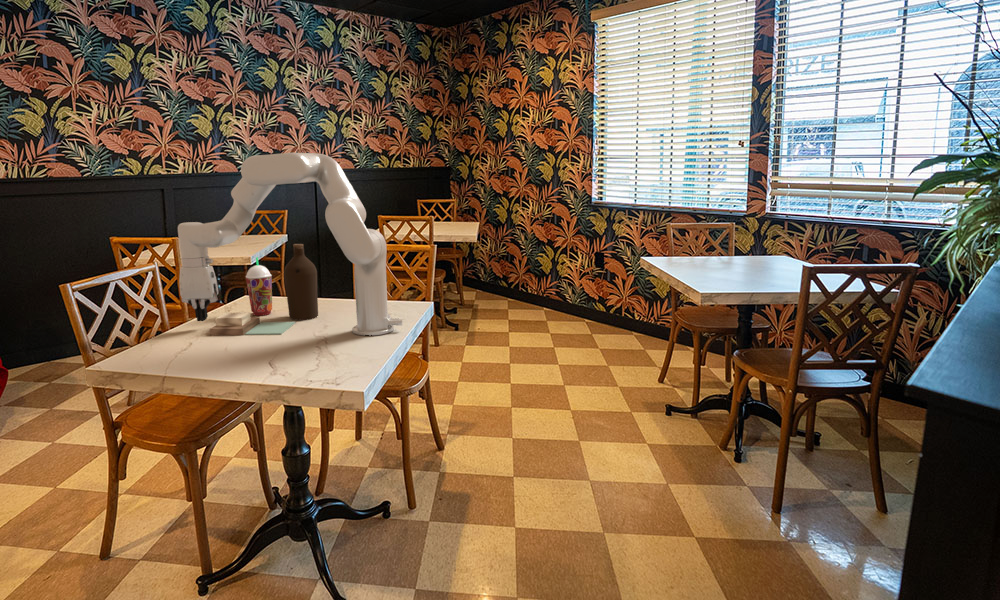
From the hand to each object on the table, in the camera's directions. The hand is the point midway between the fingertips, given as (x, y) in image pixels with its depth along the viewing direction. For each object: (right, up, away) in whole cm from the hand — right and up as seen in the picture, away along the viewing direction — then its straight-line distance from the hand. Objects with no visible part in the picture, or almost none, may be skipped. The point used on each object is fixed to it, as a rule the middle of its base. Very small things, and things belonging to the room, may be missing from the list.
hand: (202, 320), depth 188 cm
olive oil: (+27, 0, +16) cm, 31 cm away
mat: (+21, -3, +1) cm, 22 cm away
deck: (+10, -3, +1) cm, 11 cm away
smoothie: (+11, +1, +20) cm, 23 cm away
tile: (+10, 0, 0) cm, 10 cm away
